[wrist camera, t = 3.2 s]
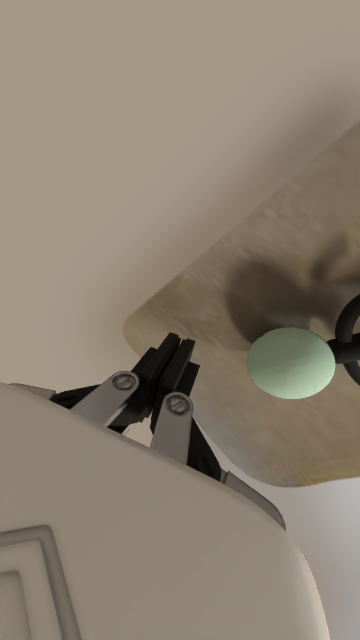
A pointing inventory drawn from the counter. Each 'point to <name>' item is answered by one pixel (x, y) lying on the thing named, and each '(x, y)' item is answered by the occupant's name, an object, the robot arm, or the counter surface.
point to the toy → (305, 357)
